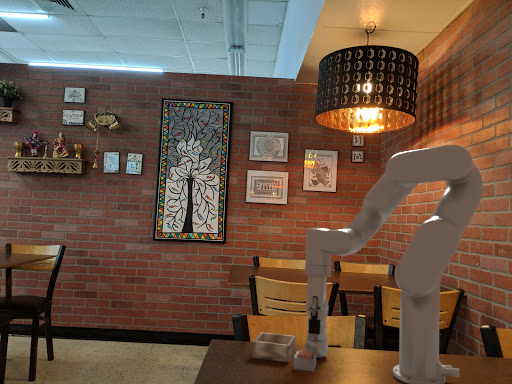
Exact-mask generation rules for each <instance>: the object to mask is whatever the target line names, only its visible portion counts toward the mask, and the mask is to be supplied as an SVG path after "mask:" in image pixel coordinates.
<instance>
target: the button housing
mask: <svg viewBox="0 0 512 384" xmlns="http://www.w3.org/2000/svg"><path fill="white" fill-rule="evenodd" d="M299 351H300V350H297V351H295V352H296V353H294V355H293V356H294V357H293V370H298V371H304V372H305V371H306V372H307V371H308V372H313V373H314V372H315V370H316V366H317V358H316V357H317V353H313V358H312V359H308V358H300V357H298V353H299Z"/></svg>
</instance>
